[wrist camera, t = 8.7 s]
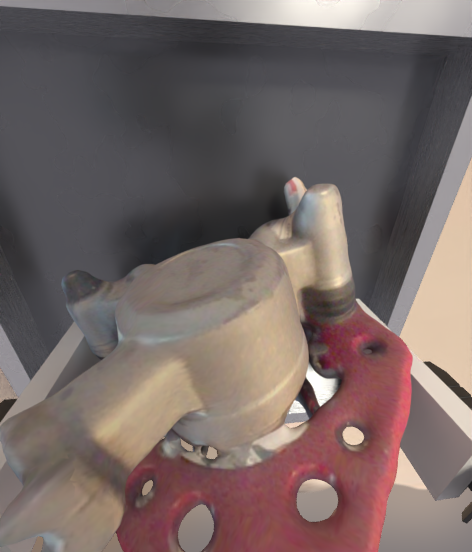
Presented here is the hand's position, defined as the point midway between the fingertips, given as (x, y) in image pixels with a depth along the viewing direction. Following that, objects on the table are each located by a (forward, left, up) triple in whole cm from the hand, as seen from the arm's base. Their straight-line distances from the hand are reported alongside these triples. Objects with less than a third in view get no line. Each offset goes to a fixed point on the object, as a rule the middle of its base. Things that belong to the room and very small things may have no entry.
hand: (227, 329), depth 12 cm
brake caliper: (-1, 0, -2) cm, 2 cm away
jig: (-1, -1, -4) cm, 4 cm away
